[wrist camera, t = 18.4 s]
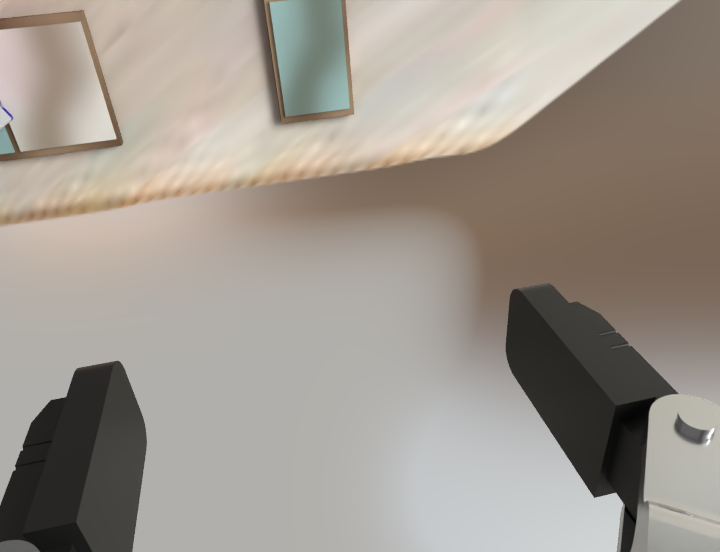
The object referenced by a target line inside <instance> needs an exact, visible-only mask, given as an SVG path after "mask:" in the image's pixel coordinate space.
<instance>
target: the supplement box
mask: <svg viewBox="0 0 720 552" xmlns="http://www.w3.org/2000/svg"><path fill="white" fill-rule="evenodd" d="M12 120H13V116H12V115H11V114H10V113H9V112H8V111H7V110H6V109H5V108H4V107H3V106H2V105H1V104H0V130H1V129H2V128H3V127H4V126H6V125H7V124H8V123H9V122H11V121H12Z"/></svg>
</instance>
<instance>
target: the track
mask: <svg viewBox="0 0 720 552" xmlns="http://www.w3.org/2000/svg"><path fill="white" fill-rule="evenodd" d="M264 7H265V14H266V21H267V28H268V35H269V41H270V48H271V55H272V62H273V69H274V76H275V83H276V89H277V96H278V103H279V110H280V117H281V122H282V124H285V123H293V122H300V121H308V120H315V119H323V118H330V117H338V116H345V115H353V114H354V107H353V94H352V81H351V68H350V55H349V42H348V29H347V16H346V3H345V0H264ZM0 104H1V105H2V106H3V107H4V108H5V109H6V110H7V111H8V112H9V113H10V114H11V115H12V116H13V120H12V121H11V122H9V123H8V124H7V125H6V126H4V127H3V128H2V129H1V130H0V161H8V160H15V159H23V158H30V157H38V156H45V155H53V154H60V153H68V152H75V151H83V150H90V149H98V148H105V147H113V146H120V145H122V144H123V140H122V137H121V133H120V130H119V127H118V123H117V120H116V117H115V113H114V110H113V107H112V104H111V100H110V97H109V94H108V90H107V87H106V84H105V80H104V77H103V74H102V70H101V67H100V64H99V60H98V57H97V54H96V51H95V47H94V44H93V41H92V37H91V34H90V31H89V27H88V24H87V21H86V17H85V14H84V11H83V10H82V11H72V12H62V13H52V14H42V15H32V16H22V17H13V18H3V19H0Z"/></svg>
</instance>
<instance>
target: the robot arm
mask: <svg viewBox="0 0 720 552" xmlns="http://www.w3.org/2000/svg"><path fill="white" fill-rule="evenodd" d="M506 355H507V360H508V363H509V367H510V369H511V371H512V373H513V375H514V376H515V378H516V379H517V381H518V383H519V384H520V386H521V387H522V389H523V390H524V392H525V393H526V395H527V396H528V398H529V399H530V401H531V402H532V404H533V405H534V407H535V408H536V410H537V411H538V413H539V415H540V416H541V418H542V419H543V421H544V422H545V424H546V425H547V427H548V428H549V430H550V431H551V433H552V434H553V436H554V437H555V439H556V440H557V442H558V443H559V445H560V446H561V448H562V449H563V451H564V452H565V454H566V455H567V457H568V459H569V460H570V461H571V463H572V465H573V466H574V468H575V469H576V471H577V472H578V474H579V475H580V477H581V478H582V480H583V481H584V483H585V484H586V486H587V487H588V489H589V490H590V492H591V493H592V495H593V496H594V498H595V497H599V496H603V495H608V494H611V493H617V494H618V496H619V497H620V499H621V500H622V501H623V507H622V511H621V517H620V528H619V537H618V547H617V552H720V406H719V405H717V404H716V403H713V402H711V401H709V400H706V399H704V398H701V397H697V396H692V395H686V394H678V393H677V392H676V391H675V390H674V389H673V388H672V387H671V386H670V385H669V384H668V383H667V382H666V381H665V380H664V379H663V378H662V377H661V375H659V373H658V372H656V370H655V369H654V368H653V367H652V366H651V365H650V364H649V363H648V362H647V361H646V360H645V359H644V358H643V357H642V356H641V355H640V354H639V353H638V352H637V351H636V350H635V349H634V348H633V347H632V346H630V347H629V345H628V342H627V341H626V340H625V339H624V338H623V337H622V336H621V335H620V334H619V333H616V332H615V329H614V328H613V327H612V326H611V325H610V324H609V323H608V322H607V321H606V320H605V319H604V318H603V317H602V316H601V315H600V314H599V313H597V312H595V311H594V310H592V309H590V308H588V307H586V306H584V305H582V304H580V303H579V302H572V303H568V302H567V300H566V299H565V298H564V297H563V296H562V295H561V294H560V293H559V292H558V291H557V290H556V289H555V287H554V286H552V285H551V284H549V283H545V284H540V285H534V286H529V287H524V288H518V289H514V290H513V291H512V293H511V295H510V303H509V314H508V325H507V337H506ZM146 445H147V440H146V429H145V423H144V419H143V416H142V413H141V411H140V408H139V405H138V403H137V400H136V398H135V395H134V392H133V390H132V387H131V385H130V382H129V380H128V377H127V374H126V372H125V369H124V367H123V365H122V364H121V362H119V361H114V362H109V363H103V364H98V365H92V366H87V367H82V368H78V369H76V371H75V373H74V375H73V378H72V381H71V384H70V387H69V390H68V393H67V396H66V398H60V399H55V400H51V401H50V402H49V403H48V404H47V405H46V407H45V408H44V409H43V410H42V411H41V412H40V413H39V415H38V416H37V417H36V418H35V419H34V420H33V422H32V423H31V425H30V428H29V431H28V433H27V436H26V438H25V441H24V444H23V451H21V452H20V454H19V457H18V460H17V462H16V465H15V467H16V470H15V471H13V473H12V476H11V478H10V481H9V484H8V486H7V489H6V492H5V494H4V497H3V500H2V502H1V505H0V552H132V549H133V541H134V534H135V527H136V520H137V512H138V505H139V497H140V490H141V484H142V476H143V469H144V462H145V455H146Z"/></svg>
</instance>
